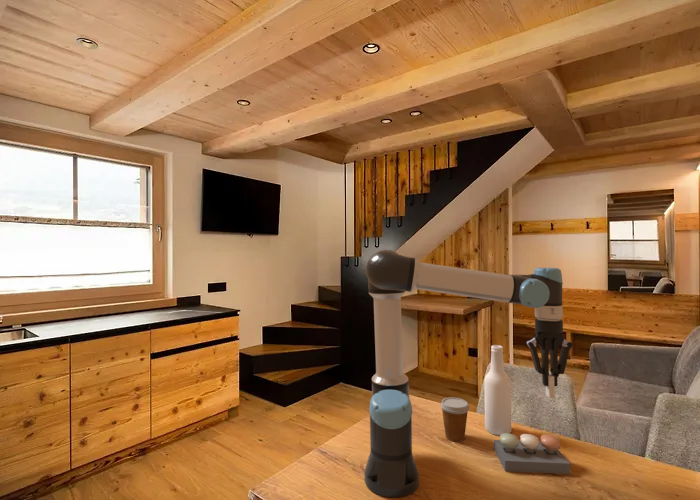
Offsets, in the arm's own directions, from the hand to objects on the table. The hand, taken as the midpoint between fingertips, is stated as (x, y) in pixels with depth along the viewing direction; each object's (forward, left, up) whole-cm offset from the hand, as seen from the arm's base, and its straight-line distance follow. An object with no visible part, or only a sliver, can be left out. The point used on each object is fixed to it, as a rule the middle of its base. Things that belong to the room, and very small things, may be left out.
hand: (550, 396), depth 114 cm
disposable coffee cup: (-26, +13, -20) cm, 35 cm away
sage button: (-12, 0, -18) cm, 22 cm away
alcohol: (-10, +19, -20) cm, 29 cm away
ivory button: (-6, 0, -18) cm, 19 cm away
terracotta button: (0, 0, -18) cm, 18 cm away
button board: (-6, 0, -20) cm, 21 cm away
